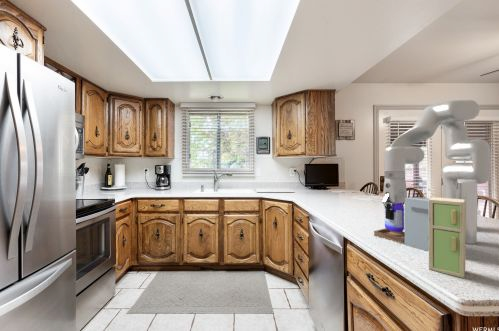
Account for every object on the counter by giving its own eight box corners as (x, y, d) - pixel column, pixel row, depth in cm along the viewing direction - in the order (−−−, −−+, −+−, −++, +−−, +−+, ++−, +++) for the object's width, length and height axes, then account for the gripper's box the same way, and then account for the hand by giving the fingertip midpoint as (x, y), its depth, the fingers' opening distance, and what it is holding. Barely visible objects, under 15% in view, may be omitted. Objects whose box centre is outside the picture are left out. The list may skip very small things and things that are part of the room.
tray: (387, 232, 107) (387, 227, 107) (414, 239, 97) (414, 234, 97) (374, 235, 102) (374, 231, 102) (401, 243, 92) (401, 238, 92)
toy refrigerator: (427, 270, 69) (427, 199, 69) (431, 262, 74) (432, 196, 74) (463, 279, 63) (464, 202, 63) (465, 271, 69) (466, 199, 68)
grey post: (455, 237, 99) (456, 178, 99) (477, 241, 94) (477, 179, 94) (454, 241, 94) (454, 179, 94) (476, 245, 90) (477, 180, 90)
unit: (415, 241, 95) (416, 196, 95) (452, 250, 84) (453, 200, 84) (403, 244, 90) (403, 198, 90) (440, 255, 80) (441, 203, 80)
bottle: (381, 228, 102) (381, 188, 102) (392, 227, 104) (392, 188, 104) (395, 233, 95) (396, 190, 95) (407, 232, 97) (407, 190, 96)
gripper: (391, 176, 92) (391, 222, 92) (415, 175, 100) (414, 217, 100) (373, 176, 98) (373, 218, 98) (396, 175, 107) (396, 214, 107)
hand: (394, 217), depth 99 cm, fingers closed on bottle, 5 cm apart
